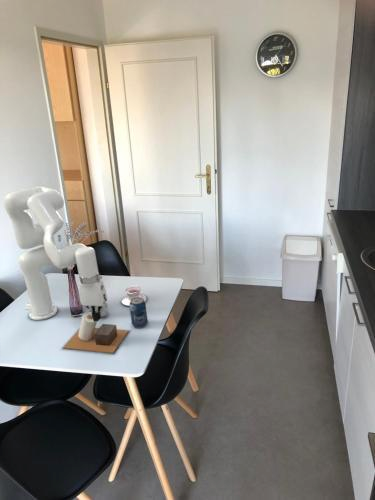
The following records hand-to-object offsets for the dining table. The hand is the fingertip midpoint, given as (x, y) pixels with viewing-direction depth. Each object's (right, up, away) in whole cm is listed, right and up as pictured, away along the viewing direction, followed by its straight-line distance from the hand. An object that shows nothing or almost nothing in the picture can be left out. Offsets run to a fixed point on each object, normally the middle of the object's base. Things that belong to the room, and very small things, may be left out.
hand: (97, 319), depth 170 cm
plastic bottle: (-3, -2, +23) cm, 24 cm away
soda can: (+16, -5, +14) cm, 21 cm away
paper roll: (-4, -3, +3) cm, 6 cm away
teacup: (+10, +3, +35) cm, 37 cm away
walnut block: (+3, -9, +3) cm, 10 cm away
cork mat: (-1, -9, +4) cm, 10 cm away
